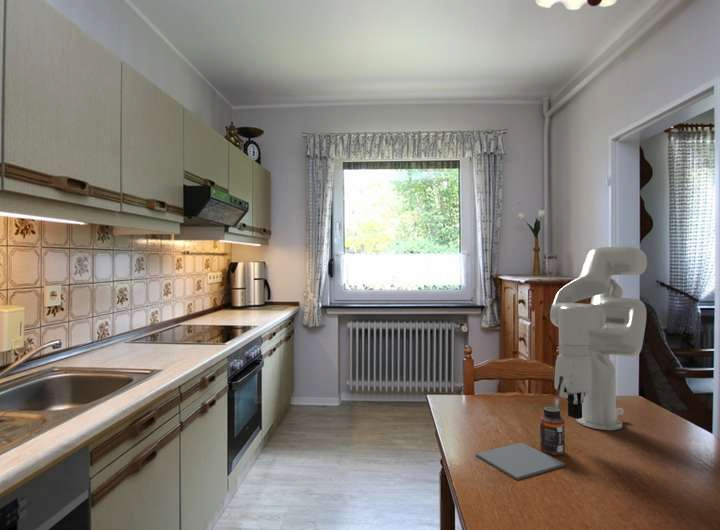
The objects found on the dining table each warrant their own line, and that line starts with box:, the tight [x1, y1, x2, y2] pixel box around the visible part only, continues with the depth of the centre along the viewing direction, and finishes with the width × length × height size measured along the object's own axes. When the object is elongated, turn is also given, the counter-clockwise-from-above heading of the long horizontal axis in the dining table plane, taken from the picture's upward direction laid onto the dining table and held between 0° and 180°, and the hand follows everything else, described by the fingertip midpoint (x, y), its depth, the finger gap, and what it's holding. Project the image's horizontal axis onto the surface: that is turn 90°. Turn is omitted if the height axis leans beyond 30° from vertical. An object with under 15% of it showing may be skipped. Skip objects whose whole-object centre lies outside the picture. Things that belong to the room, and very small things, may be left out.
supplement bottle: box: [539, 406, 566, 457], centre depth 110 cm, size 6×6×11 cm
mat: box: [475, 441, 566, 481], centre depth 105 cm, size 16×14×1 cm
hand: (575, 417), depth 114 cm, fingers closed
